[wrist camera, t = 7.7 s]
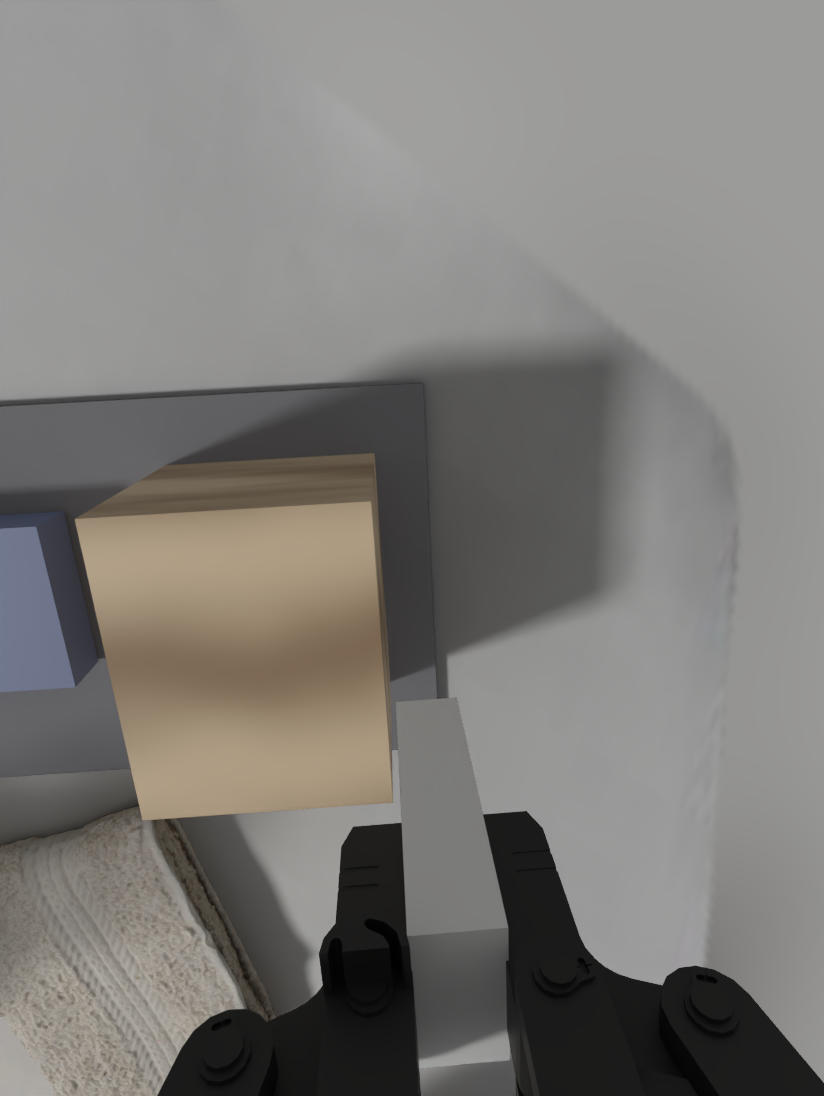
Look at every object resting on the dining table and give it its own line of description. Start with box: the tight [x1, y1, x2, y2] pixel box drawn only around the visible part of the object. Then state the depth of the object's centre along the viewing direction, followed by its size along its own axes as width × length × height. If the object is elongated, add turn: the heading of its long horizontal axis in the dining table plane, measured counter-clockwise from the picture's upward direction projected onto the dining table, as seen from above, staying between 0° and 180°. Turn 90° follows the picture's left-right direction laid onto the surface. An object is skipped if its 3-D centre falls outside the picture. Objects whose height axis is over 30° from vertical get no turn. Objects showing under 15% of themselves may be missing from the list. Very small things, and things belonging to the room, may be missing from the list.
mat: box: [0, 383, 437, 777], centre depth 26 cm, size 16×24×1 cm, turn 93°
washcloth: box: [0, 806, 276, 1096], centre depth 32 cm, size 12×18×3 cm, turn 17°
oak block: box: [75, 453, 393, 820], centre depth 23 cm, size 10×8×8 cm
